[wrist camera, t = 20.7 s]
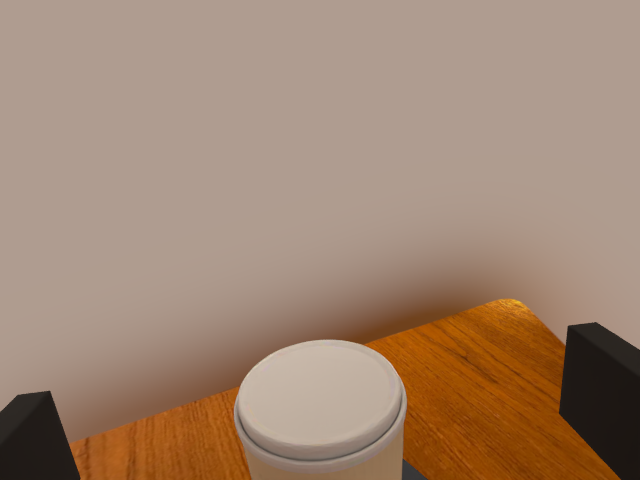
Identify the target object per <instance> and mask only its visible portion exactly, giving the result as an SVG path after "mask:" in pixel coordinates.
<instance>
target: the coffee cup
mask: <svg viewBox="0 0 640 480" xmlns="http://www.w3.org/2000/svg"><path fill="white" fill-rule="evenodd" d="M406 408H407V398H406V391H405V388H404V385H403V383H402V381H401V379H400V377H399V376H398V374H397V372H396V370H395V369H394V367H393V366H392V364H391V363H390V362H389V361H388V360H387V359H386V358H385V357H383V356H382V355H381V354H379V353H378V352H376V351H374V350H372V349H370V348H368V347H366V346H363V345H360V344H357V343H353V342H347V341H341V340H317V341H309V342H303V343H299V344H295V345H292V346H289V347H286V348H283V349H281V350H279V351H276V352H274V353H273V354H271V355H269V356H267V357H266V358H265V359H263V360H262V361H260V362H259V363H258V364H257V365H255V366H254V367H253V368H252V369H251V371H250V372H249V373H248V374H247V376H246V377H245V379H244V380H243V382H242V384H241V386H240V389H239V393H238V395H237V398H236V401H235V406H234V421H235V426H236V429H237V432H238V435H239V438H240V439H241V441H242V443H243V447H244V451H245V455H246V459H247V463H248V466H249V470H250V474H251V478H252V480H402V458H403V430H404V420H405V415H406Z"/></svg>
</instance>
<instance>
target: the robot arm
mask: <svg viewBox="0 0 640 480" xmlns="http://www.w3.org/2000/svg"><path fill="white" fill-rule="evenodd" d="M559 414H560V415H561V416H562V417H563V418H564V419H565V420H566V421H567V422H568V424H569V425H570V426H571V427H572V428H573V429H574V430H575V431H576V432H577V433H578V434H579V435H580V436H581V437H582V438H583V439H584V441H585V442H586V443H587V444H588V445H589V446H590V447H591V448H592V449H593V450H594V451H595V452H596V453H597V454H598V455H599V457H600V458H601V459H602V460H603V461H604V462H605V463H606V464H607V465H608V466H609V467H610V468H611V469H612V470H613V471H614V472H615V474H616V475H617V476H618V477H619V478H620V479H621V480H640V350H639V349H637V348H636V347H634V346H633V345H631V344H630V343H628V342H626V341H625V340H623V339H622V338H620V337H619V336H617V335H615V334H614V333H612V332H611V331H609V330H608V329H606V328H604V327H603V326H601V325H600V324H598V323H596V322H594V323H587V324H578V325H570V326H568V331H567V340H566V349H565V359H564V369H563V379H562V389H561V399H560V409H559ZM80 479H81V478H80V475H79V472H78V469H77V467H76V464H75V461H74V458H73V455H72V452H71V449H70V447H69V444H68V441H67V438H66V435H65V432H64V429H63V426H62V424H61V421H60V418H59V415H58V412H57V409H56V406H55V404H54V401H53V398H52V395H51V392H50V391H44V392H37V393H29V394H21V395H17V396H16V397H15V398H14V399H13V400H12V401H11V402H10V403H9V404H8V405H7V406H6V407H5V408H4V409H3V410H2V411H1V412H0V480H80Z"/></svg>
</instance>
